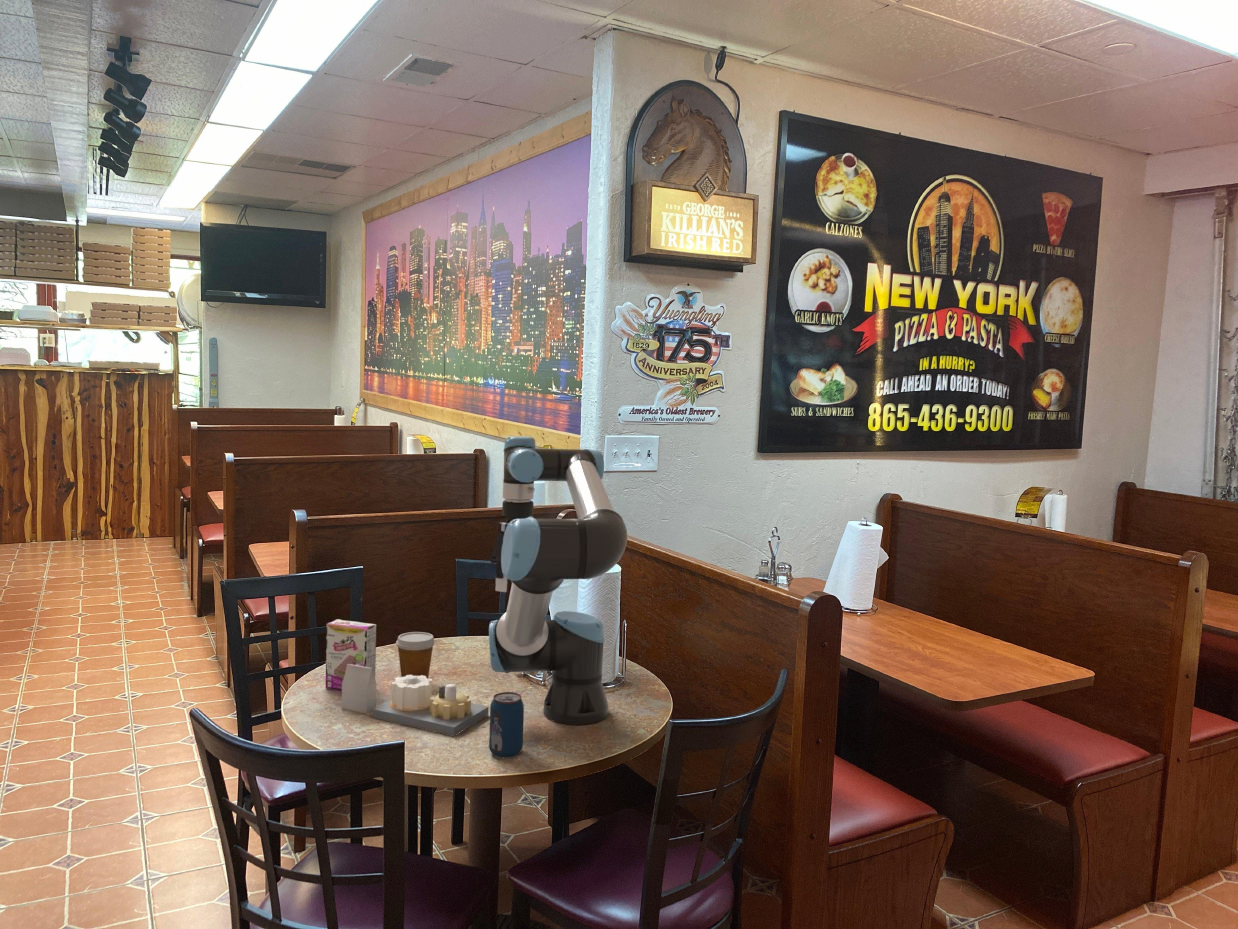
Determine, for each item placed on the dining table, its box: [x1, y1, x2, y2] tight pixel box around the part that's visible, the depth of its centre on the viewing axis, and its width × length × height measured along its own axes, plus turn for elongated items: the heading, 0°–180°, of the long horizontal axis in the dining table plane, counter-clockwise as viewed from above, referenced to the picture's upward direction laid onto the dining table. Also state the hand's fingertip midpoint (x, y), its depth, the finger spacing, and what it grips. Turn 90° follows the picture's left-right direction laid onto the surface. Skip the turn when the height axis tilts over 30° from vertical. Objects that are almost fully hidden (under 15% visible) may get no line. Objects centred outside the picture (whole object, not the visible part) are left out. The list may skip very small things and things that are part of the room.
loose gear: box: [390, 675, 433, 710], centre depth 202 cm, size 9×9×5 cm
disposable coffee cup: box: [395, 631, 436, 679], centre depth 221 cm, size 10×10×12 cm
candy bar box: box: [325, 618, 377, 692], centre depth 215 cm, size 11×5×16 cm, turn 76°
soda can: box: [488, 691, 525, 760], centre depth 182 cm, size 7×7×12 cm
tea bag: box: [341, 664, 378, 714], centre depth 203 cm, size 4×7×10 cm, turn 70°
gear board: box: [370, 676, 490, 737], centre depth 200 cm, size 22×14×8 cm, turn 67°
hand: (515, 585), depth 216 cm, fingers open, 13 cm apart
